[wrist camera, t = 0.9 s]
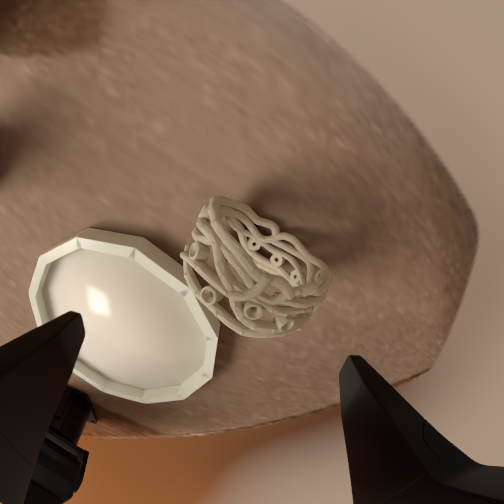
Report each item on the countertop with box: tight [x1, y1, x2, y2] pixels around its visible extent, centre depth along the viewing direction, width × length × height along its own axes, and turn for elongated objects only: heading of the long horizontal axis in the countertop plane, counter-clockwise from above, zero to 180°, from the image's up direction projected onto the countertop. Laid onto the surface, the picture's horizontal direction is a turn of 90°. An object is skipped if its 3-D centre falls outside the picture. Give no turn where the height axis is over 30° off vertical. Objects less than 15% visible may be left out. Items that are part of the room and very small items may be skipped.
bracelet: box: [180, 195, 332, 338], centre depth 16 cm, size 4×8×8 cm, turn 60°
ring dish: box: [28, 228, 220, 404], centre depth 22 cm, size 17×17×2 cm
